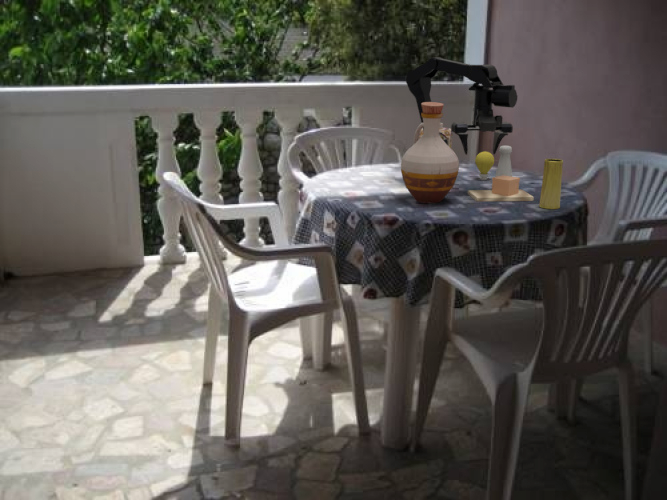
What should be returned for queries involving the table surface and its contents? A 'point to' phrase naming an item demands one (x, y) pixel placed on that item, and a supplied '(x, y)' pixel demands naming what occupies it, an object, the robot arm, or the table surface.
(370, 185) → the table surface
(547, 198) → the vase
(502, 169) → the salt shaker
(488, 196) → the base board
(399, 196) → the table surface
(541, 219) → the table surface
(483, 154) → the light bulb
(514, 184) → the orange block
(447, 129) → the decorative jar
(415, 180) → the jug
